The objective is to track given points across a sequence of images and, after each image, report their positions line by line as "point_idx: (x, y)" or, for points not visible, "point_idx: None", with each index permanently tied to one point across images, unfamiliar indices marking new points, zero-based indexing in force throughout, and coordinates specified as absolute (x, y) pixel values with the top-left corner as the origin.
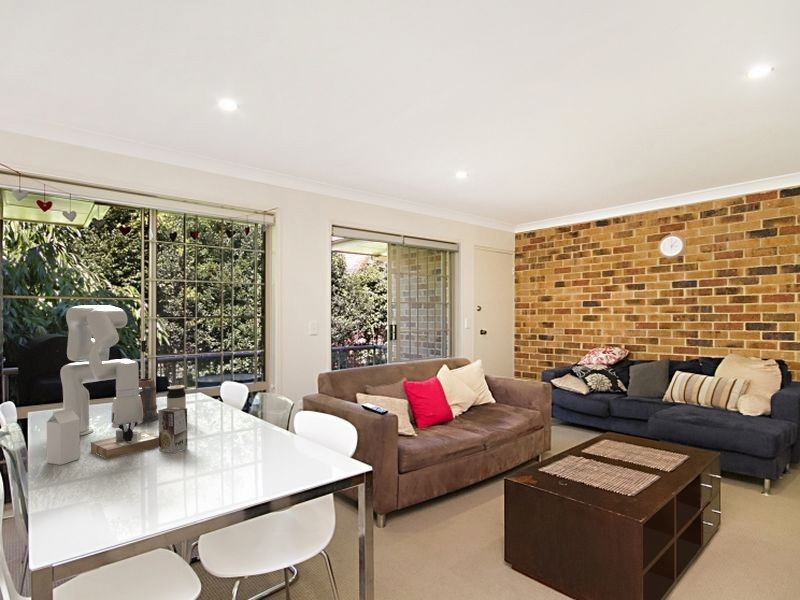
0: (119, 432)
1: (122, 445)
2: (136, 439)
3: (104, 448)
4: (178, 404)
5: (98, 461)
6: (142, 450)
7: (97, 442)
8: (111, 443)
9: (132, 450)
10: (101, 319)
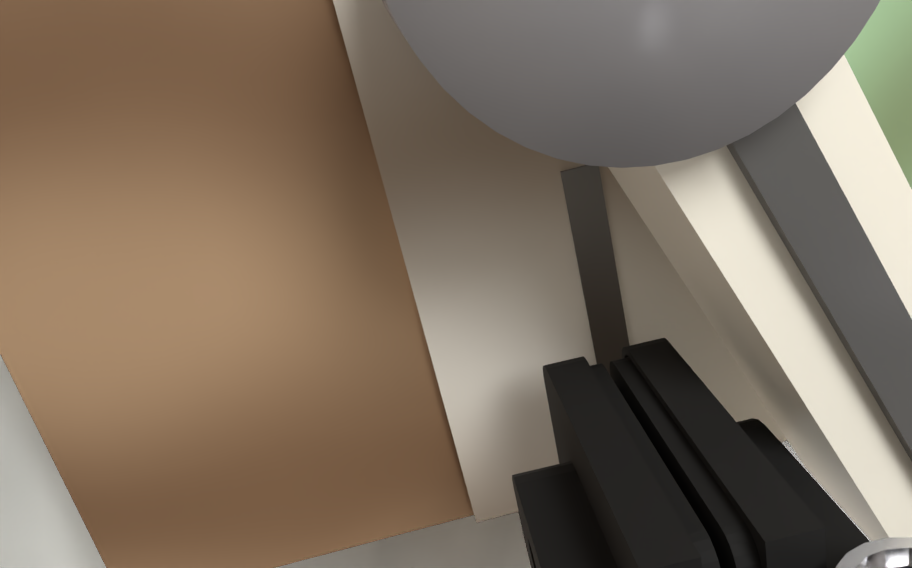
0: (493, 119)
1: (458, 461)
2: (811, 471)
3: (48, 445)
4: None
5: (18, 501)
6: None
7: None
8: (225, 46)
9: None
10: None
